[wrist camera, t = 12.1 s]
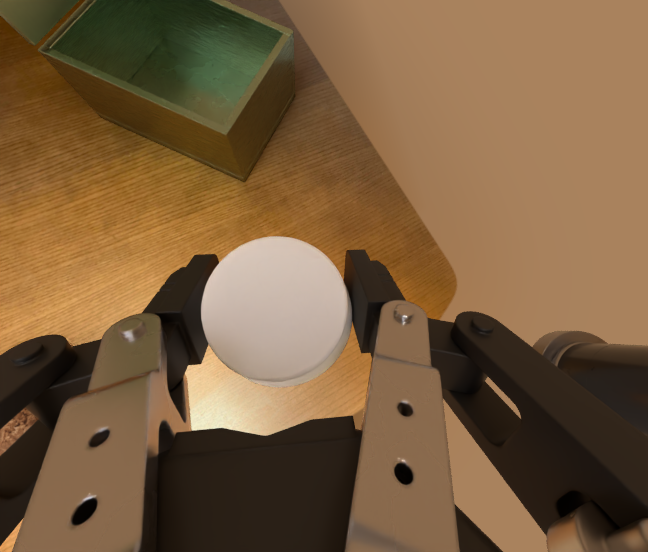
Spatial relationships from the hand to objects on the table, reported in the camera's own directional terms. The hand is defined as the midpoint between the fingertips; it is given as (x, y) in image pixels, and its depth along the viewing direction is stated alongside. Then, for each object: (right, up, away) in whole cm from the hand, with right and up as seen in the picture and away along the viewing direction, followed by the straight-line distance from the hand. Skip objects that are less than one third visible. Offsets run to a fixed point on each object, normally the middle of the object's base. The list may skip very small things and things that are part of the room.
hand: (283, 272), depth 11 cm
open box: (-14, +22, +22) cm, 34 cm away
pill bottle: (0, -3, +5) cm, 6 cm away
